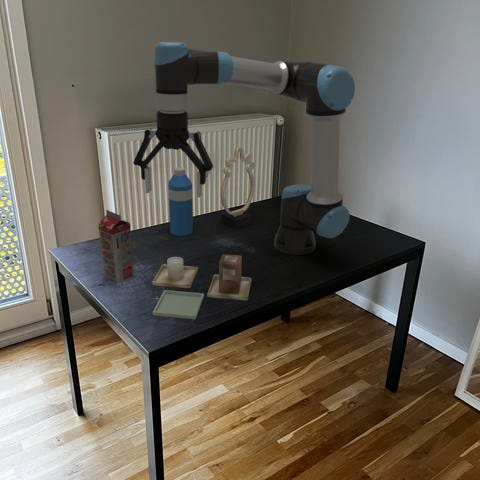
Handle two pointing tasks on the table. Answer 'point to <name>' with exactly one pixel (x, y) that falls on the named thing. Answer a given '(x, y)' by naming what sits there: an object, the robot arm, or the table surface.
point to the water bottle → (180, 203)
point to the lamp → (239, 216)
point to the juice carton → (116, 247)
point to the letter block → (230, 273)
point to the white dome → (175, 268)
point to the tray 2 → (178, 304)
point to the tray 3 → (242, 294)
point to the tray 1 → (186, 282)
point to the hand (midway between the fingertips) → (173, 193)
